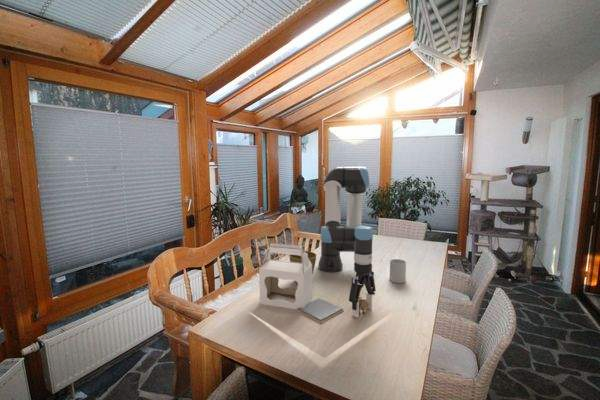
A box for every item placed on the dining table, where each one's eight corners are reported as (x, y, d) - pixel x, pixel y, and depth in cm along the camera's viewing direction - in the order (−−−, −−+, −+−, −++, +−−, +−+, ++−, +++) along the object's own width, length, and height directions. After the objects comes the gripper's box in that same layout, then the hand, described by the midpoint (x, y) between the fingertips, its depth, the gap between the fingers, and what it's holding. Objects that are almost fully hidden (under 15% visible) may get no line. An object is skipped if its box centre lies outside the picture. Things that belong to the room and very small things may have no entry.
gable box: (259, 304, 135) (257, 246, 132) (270, 293, 147) (269, 239, 144) (304, 311, 128) (304, 250, 125) (312, 298, 140) (312, 242, 137)
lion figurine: (370, 317, 122) (370, 300, 121) (361, 318, 121) (361, 301, 120) (359, 304, 133) (359, 289, 133) (350, 305, 133) (350, 290, 132)
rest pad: (295, 310, 128) (295, 308, 128) (318, 300, 138) (318, 297, 138) (321, 323, 117) (321, 320, 117) (343, 310, 127) (343, 308, 127)
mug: (402, 284, 156) (403, 264, 155) (387, 281, 161) (387, 261, 160) (409, 277, 165) (409, 259, 164) (394, 274, 170) (395, 256, 169)
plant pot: (284, 283, 159) (283, 255, 157) (302, 275, 170) (302, 249, 168) (304, 290, 149) (303, 260, 147) (321, 282, 160) (321, 254, 158)
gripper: (355, 270, 113) (354, 325, 115) (384, 258, 128) (383, 306, 131) (339, 266, 118) (339, 318, 121) (369, 255, 134) (369, 301, 136)
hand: (362, 312), depth 126 cm, fingers open, 10 cm apart
